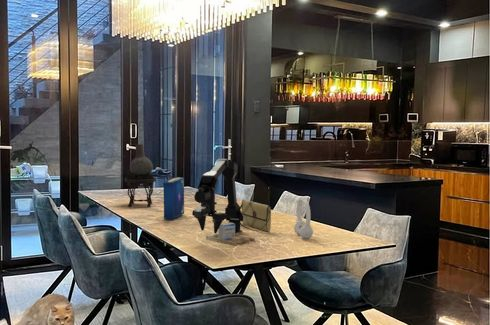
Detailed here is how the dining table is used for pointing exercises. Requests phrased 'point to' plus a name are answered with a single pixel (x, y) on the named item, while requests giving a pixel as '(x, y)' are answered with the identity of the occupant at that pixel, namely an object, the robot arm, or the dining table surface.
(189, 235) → the dining table surface
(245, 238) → the offcut top
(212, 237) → the light wood flat frame
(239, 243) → the block
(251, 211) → the clutch purse
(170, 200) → the book
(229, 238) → the medicine box
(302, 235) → the headphones
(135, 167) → the brazier
